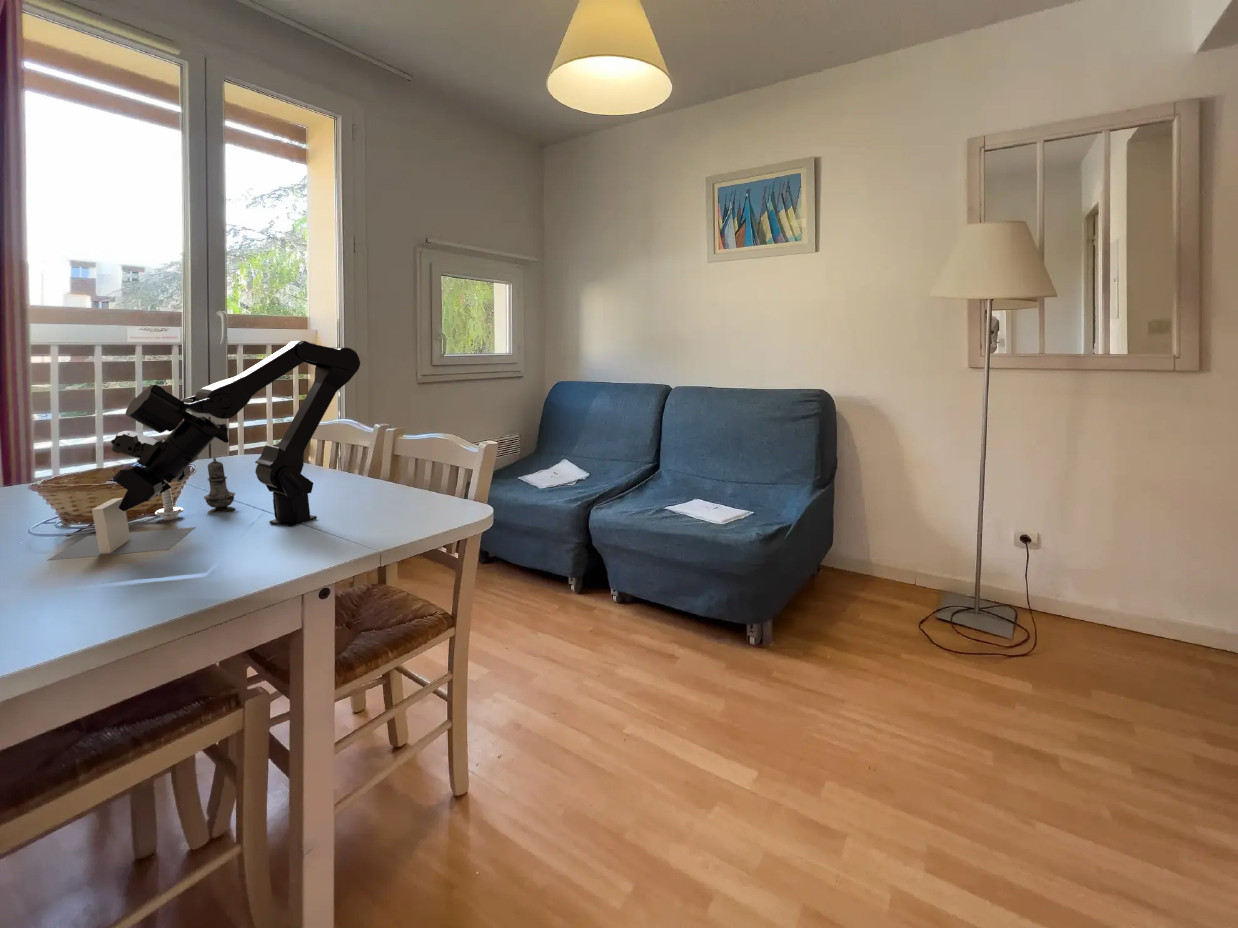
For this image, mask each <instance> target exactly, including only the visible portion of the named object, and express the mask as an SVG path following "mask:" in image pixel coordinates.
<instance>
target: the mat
mask: <svg viewBox="0 0 1238 928" xmlns="http://www.w3.org/2000/svg"><path fill="white" fill-rule="evenodd" d="M196 528H197V527H195V526H194V527H182V528H169V529H159V530H145V531H133V532H132V531H130V532H129V533H130V540H129V541H127V542H126V543H124V544H123V545H121V546H120V547H119V548H117V549H116V550H114V551H113V552H111V553H104V554H100V552H99V546H98V541H97V535H96V534H95V535H87V536H86V537H84V538H82V539H80V540H79V541H77V542H75V543H73V544H72V545H70V546H68V547H67V548H66V549H64V550H61V551H60V552H58V553H57V554H54V555H53V556H52V557H49V558H48V559H47V561H54V560H56V559H57V560H65V559H67V560H68V559H76V558H78V559H80V558H89V557H99V556H100V557H102V556H111V555H113V556H114V555H121V554H122V555H123V554H133V553H135V554H136V553H143V552H144V553H145V552H157V551H169V550H170V549H172V548H173V547H174V546H175V545H177V544H178V543H179V542H180V541H182V540H183V539H184V538H185V537H187V535H189V534H190V533H191V532H192V531H193V530H195V529H196Z"/></svg>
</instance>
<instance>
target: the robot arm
mask: <svg viewBox="0 0 1238 928" xmlns="http://www.w3.org/2000/svg"><path fill="white" fill-rule="evenodd" d="M304 363H305V364H309V365H311V366H315V367H314V368H315V369H314V381H313V383H312V385H311V386H310V389H309V390H308V392H307V394H306V396H305V398H304V399H303V401H302V403H301V404H300V406H299V409H298V410H297V411H296V413H295V415H294V417H293V419H292V420H291V423H290V424H289V426H288V428H287V429H286V432H285V434H284V435H283V437H282V438H281V440H280V441H278V443H277V444H276V445H274V446H273V445H264V447H263V449H262V452H261V455H260V456H259V458H258V459H256V461H254V463H255V464H257V465H256V467H255V474H256V478H257V480H258V481H259V482H260V483H261V484H263V485H265V486H266V488H267V489H268V492H272V497H273V498H272V502H273V503H272V504H273V513H274V518H275V519H271V520H269V524H272V525H277V526H283V527H285V526H286V527H294V526H297V525H300V524H305V523H307V522H311V521H313V520H317V519H318V516H317V515H311V510H310V501H309V494H311V493H312V491H313V488H314V482H313V481H312V480H310V479H309V478H307V477H306V476H305V475H303V474H302V471H303V468H304V465H305V463H304V462H305V451H306V448H307V447H308V445H309V443H310V442H311V440H312V437H313V436H314V435H315V433H316V431H317V428H318V427H319V425H320V423H321V421H322V419H323V418H324V415H325V414H326V412H327V410H328V408H329V407H330V405H331V403H332V401H333V399H334V397H335V395H336V394H337V392H338V391H339V390H340V389H341V388H342V387H344V386H345V385H346V384H348V383H349V382H350V381H351V380H352V378H353V377H354V376H355V374H357V372H358V371H359V369H360V367H361V360H360V357H359V355H358V353H357V352H356V351H355V350H354V349H352V348H351V347H332V346H331V347H329V346H324V345H321V344H320V345H319V344H315V343H311V342H310V341H306V340H292V341H290V342H288V343H287V344H286V345H285V346H284V347H282V348H280V349H279V350H277V351H276V352H274V353H273V354H271V355H269V356H267V357H266V358H264V359H262V360H261V361H259V362H258V363H256V364H254V365H253V366H251V367H249V368H247V369H246V370H244V371H242V372H241V373H239V374H238V375H235V376H232V377H230V378H226V379H222V380H219V381H217V382H213V383H212V384H208V385H207V386H204V387H202V388H200V389H199V390H198V391H197V392H196V393H195V395H193V396H189V397H186V398H182V399H179V397H177V396H175V395H173V394H171V393H169V392H167V391H166V390H165V389H164V388H163V387H162V386H160V385H158V384H156V383H151V384H150V385H149V386H148V387H147V388H146V389H144V390H143V391H141V392H140V393H139V394H138V395H137V396H136V397H133V399H132V400H131V402H130V403H129V404H128V406H127V408H126V410H125V416H126V417H129V418H130V419H132V420H134V421H136V422H137V423H140V424H142V425H143V426H146V427H148V428H149V429H151V430H153V431H154V432H157V433H159V434H162V433H164V432H166V431H167V432H170V433H168V435H167V436H166V437H165V438H163V439H162V440H160V439H159V440H157V439H154V438H152V437H150V436H147V435H144V434H140V433H137V432H135V431H132V430H124V431H121V432H117V434H116V435H115V437H114V439H111V440H110V443H111V444H112V447H111V448H110V449H111V451H112V452H114V453H117V454H119V453H120V454H124V455H127V456H130V457H133V458H136V459H137V458H138V460H137V461H136V463H137V464H139V465H140V466H139V465H129V466H126V467H124V468H121V469H120V470H118V472H117V473H116V474H115V475H114V476H113V477H112V480H113V481H114V482H115V483H116V484H118V485H120V486H121V487H122V488H124V489H126V492H125V494H124V496H123V497H122V498H123V500H122V502H121V504H120V506H119V509H120V510H122V511H126V512H127V511H128V510H130V509H133V508H134V507H137V506H139V505H140V504H143V503H145V502H149V501H150V500H152V499H153V498H156V497H158V496H160V495H162V493H163V492H165V491H167V490H168V489H171V488H172V485H169V484H171V483H172V482H174V481H176V482H178V483H181V482H182V481H185V480H186V478H187V477H189V475H190V474H191V466H190V465H191V464H193V463H194V462H195V461H197V459H199V456H200V454H202V452H203V451H204V450H205V449H206V448H207V447H208V446H209V445H210V444H211V443H212V442H213V440H215V439H217V440H220V441H222V442H223V443H225V444H228V443H229V442H230V439H229V435H228V430H229V428H228V425H227V424H226V423H222V424H219V423H215V422H214V421H212V420H210V419H208V418H207V417H209V418H210V417H211V418H216V419H223V420H227V419H231V418H233V417H235V416H236V415H237V414H239V412H240V411H242V410H243V408H245V406H247V405H248V403H249V402H250V401H251V399H252V398H253V397H254V395H256V394H257V393H258V392H259V391H261V390H263V389H264V388H266V387H267V386H268V385H270V384H271V383H273V382H275V381H276V380H278V379H279V378H282V376H284V375H286V374H287V373H289V372H291V371H292V370H294V369H295V368H297V367H298V366H300V365H301V364H304ZM192 413H195V414H197V413H198V414H201V415H203V416H197V415H194V414H192ZM165 481H167V482H168V483H169V484H167V483H166V482H165Z"/></svg>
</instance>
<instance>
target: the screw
mask: <svg viewBox="0 0 1238 928" xmlns="http://www.w3.org/2000/svg"><path fill="white" fill-rule="evenodd" d="M166 483H167V484H169V485H170V486H172V484H171V483H168V482H166ZM171 491H172V489H171V488H170V489H168V490H167V491H165V492H163V493H161V494H160V495H161V497H162V498H161V499H162V505H163V506H162V507H163V508H159V509H158V510H156V511H155V512H154V515H155V516H158V517H159V516H160V518H161V519H162V521H172V520H176V519H177V518H179V515H180V513H182V512H184V508H183V507H181V506H174V503H173V502H174V500H173V495H172V493H173V492H171Z"/></svg>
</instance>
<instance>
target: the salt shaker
mask: <svg viewBox="0 0 1238 928" xmlns="http://www.w3.org/2000/svg"><path fill="white" fill-rule="evenodd" d="M207 470H208V471H207V473H208V478H207V481H208V482H209V493H208V494H206V495H205V496H203V499H204V500H205V502H206V504H207V505H208V506H209V507H211V509H209V510H208V511H207V513H206V514H219V513H231V512H232V513H233V512H235V511H236V508H235V507H233V506H230V505H231V504H232V503H234V500H235V496H236V493H235V492H232V491H229V489H228V486H227V480H226V479H228V476H225V470H224V464H223V463H222V462H220V461H218V460H217V458H216V457H213V458H212V461H211V462H210V463H208V465H207Z"/></svg>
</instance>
